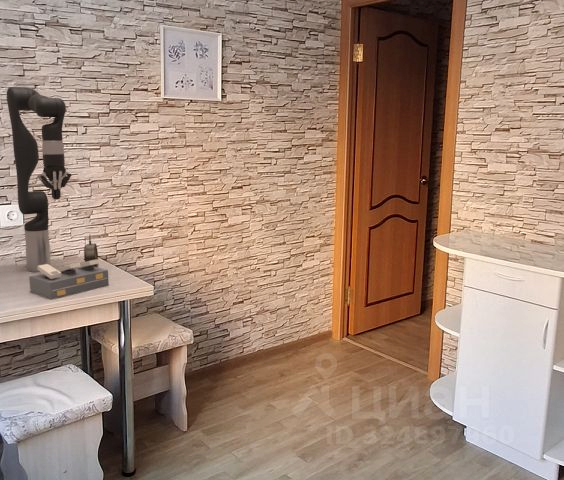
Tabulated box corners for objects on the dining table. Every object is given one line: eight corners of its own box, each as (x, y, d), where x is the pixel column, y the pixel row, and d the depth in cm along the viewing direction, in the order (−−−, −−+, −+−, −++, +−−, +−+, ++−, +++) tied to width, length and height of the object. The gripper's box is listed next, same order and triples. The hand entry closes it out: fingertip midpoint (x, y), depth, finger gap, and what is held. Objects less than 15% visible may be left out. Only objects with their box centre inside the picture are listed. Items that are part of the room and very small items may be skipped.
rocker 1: (37, 269, 213) (37, 265, 213) (47, 267, 216) (47, 263, 216) (50, 279, 208) (51, 274, 208) (61, 276, 211) (61, 272, 211)
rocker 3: (77, 267, 226) (76, 263, 226) (86, 265, 229) (85, 261, 229) (90, 265, 220) (89, 260, 220) (99, 263, 223) (98, 258, 223)
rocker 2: (58, 272, 220) (57, 267, 220) (68, 270, 223) (67, 265, 223) (71, 268, 214) (69, 263, 214) (80, 266, 217) (79, 261, 217)
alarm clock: (97, 274, 240) (95, 236, 237) (83, 275, 239) (81, 236, 236) (99, 268, 251) (97, 231, 248) (86, 269, 250) (84, 231, 246)
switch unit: (30, 292, 215) (29, 273, 213) (87, 279, 233) (86, 261, 232) (51, 299, 206) (50, 280, 205) (109, 285, 225) (108, 267, 223)
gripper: (63, 152, 224) (66, 196, 228) (31, 153, 214) (34, 199, 218) (75, 152, 220) (77, 198, 223) (42, 153, 210) (45, 201, 213)
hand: (56, 199), depth 220 cm, fingers closed
